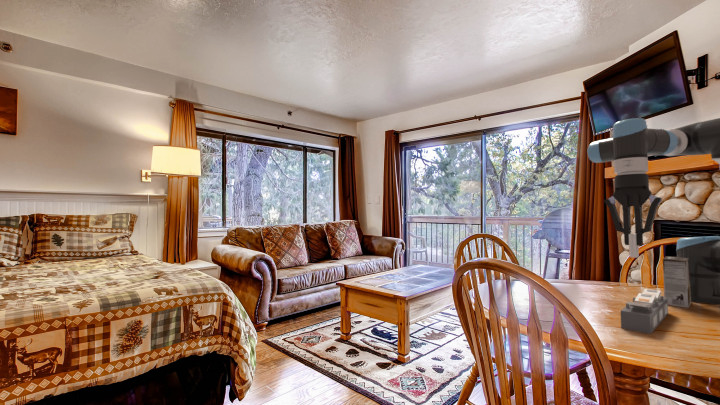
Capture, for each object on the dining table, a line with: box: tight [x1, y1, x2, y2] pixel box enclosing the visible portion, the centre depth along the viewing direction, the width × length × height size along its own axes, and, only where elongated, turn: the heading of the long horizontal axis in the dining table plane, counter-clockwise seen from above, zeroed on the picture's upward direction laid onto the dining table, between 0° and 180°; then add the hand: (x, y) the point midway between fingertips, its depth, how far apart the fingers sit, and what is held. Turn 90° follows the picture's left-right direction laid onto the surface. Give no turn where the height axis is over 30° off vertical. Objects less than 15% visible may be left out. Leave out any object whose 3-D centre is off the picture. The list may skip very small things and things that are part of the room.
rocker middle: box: [635, 292, 656, 306], centre depth 101 cm, size 6×4×1 cm, turn 130°
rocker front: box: [626, 300, 650, 309], centre depth 96 cm, size 6×4×1 cm, turn 130°
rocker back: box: [642, 288, 662, 300], centre depth 107 cm, size 6×4×1 cm, turn 130°
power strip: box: [620, 295, 669, 335], centre depth 101 cm, size 27×7×6 cm, turn 130°
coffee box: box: [662, 255, 692, 309], centre depth 118 cm, size 9×6×16 cm
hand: (634, 256), depth 94 cm, fingers closed
